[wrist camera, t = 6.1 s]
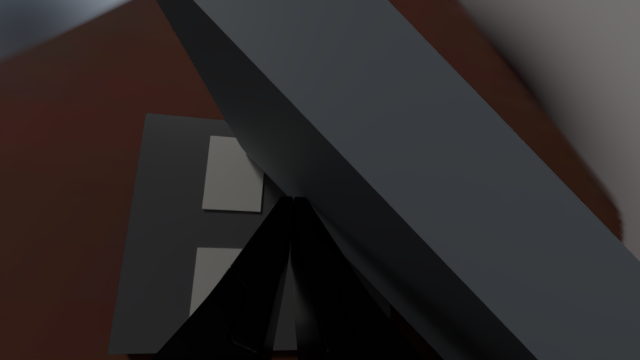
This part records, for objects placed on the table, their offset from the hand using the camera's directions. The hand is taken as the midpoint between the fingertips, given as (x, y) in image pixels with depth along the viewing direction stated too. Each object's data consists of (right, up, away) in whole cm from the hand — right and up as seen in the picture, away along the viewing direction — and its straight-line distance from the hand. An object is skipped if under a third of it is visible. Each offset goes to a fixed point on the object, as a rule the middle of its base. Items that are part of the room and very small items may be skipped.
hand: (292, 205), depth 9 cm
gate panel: (+4, -4, +5) cm, 8 cm away
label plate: (-2, -2, +6) cm, 7 cm away
